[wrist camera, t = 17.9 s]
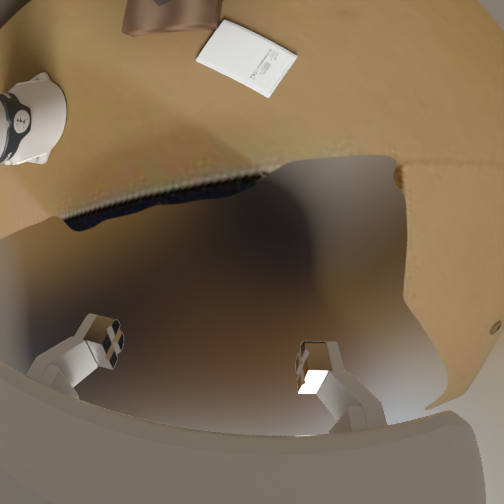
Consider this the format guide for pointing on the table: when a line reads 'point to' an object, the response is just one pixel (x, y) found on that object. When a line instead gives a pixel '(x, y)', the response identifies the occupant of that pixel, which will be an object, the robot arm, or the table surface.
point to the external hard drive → (246, 57)
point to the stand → (170, 16)
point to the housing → (161, 2)
